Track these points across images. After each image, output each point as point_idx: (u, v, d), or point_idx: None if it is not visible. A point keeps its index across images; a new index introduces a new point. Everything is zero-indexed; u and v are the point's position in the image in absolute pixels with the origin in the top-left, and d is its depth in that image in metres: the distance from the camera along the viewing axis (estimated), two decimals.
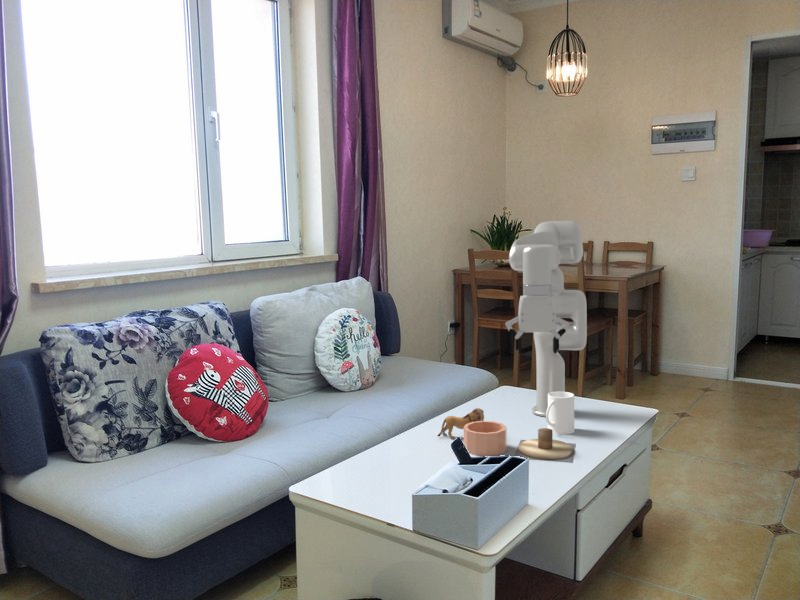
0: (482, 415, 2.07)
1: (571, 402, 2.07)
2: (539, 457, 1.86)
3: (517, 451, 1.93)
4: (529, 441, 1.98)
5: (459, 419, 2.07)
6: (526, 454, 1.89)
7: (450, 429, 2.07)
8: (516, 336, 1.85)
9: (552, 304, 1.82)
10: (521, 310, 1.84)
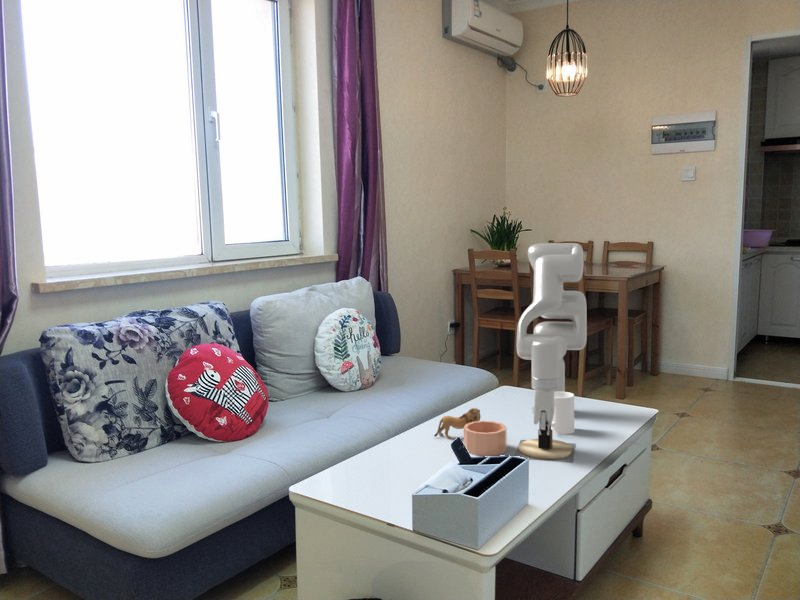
0: (479, 415, 2.07)
1: (571, 402, 2.07)
2: (539, 457, 1.86)
3: (517, 451, 1.93)
4: (529, 441, 1.98)
5: (456, 419, 2.07)
6: (526, 454, 1.89)
7: (447, 429, 2.08)
8: (548, 433, 1.89)
9: None
10: (551, 404, 1.86)
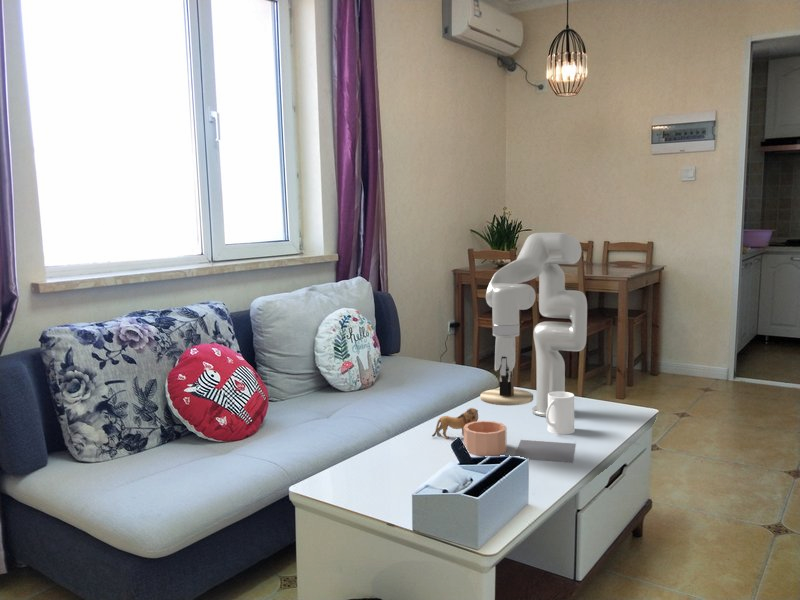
0: (476, 415, 2.08)
1: (571, 402, 2.07)
2: (500, 403, 1.86)
3: (517, 451, 1.93)
4: (491, 390, 1.98)
5: (454, 419, 2.07)
6: (487, 401, 1.89)
7: (445, 429, 2.08)
8: None
9: None
10: (511, 350, 1.87)
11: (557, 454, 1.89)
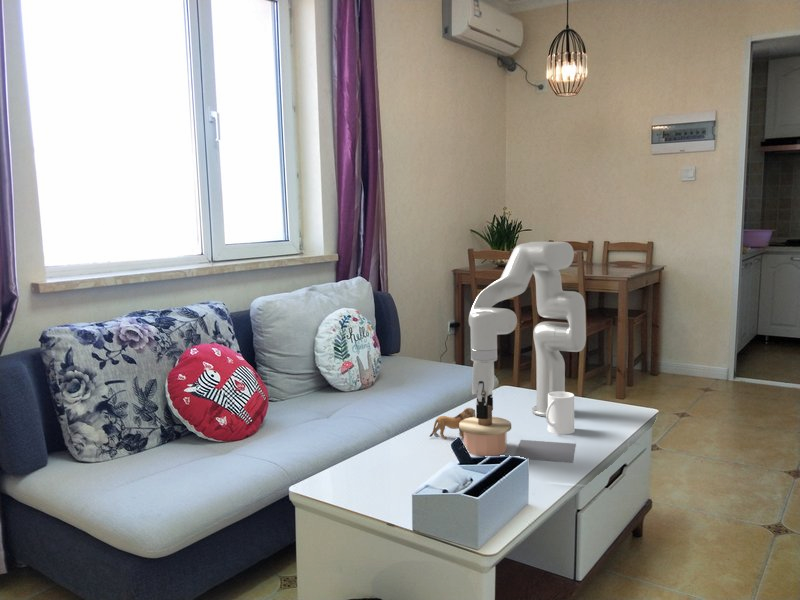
0: (474, 414, 2.08)
1: (571, 402, 2.07)
2: (477, 432, 1.89)
3: (517, 451, 1.93)
4: (471, 418, 2.01)
5: (451, 419, 2.08)
6: (465, 430, 1.91)
7: (442, 429, 2.08)
8: (485, 403, 1.89)
9: None
10: (488, 375, 1.89)
11: (557, 454, 1.89)
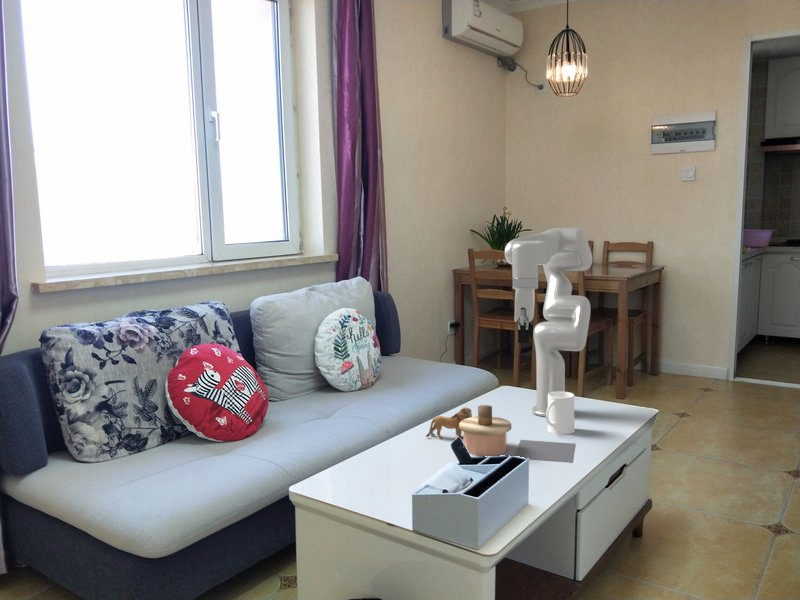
0: (470, 414, 2.08)
1: (571, 402, 2.07)
2: (477, 432, 1.89)
3: (517, 451, 1.93)
4: (471, 418, 2.01)
5: (448, 419, 2.08)
6: (465, 430, 1.91)
7: (439, 429, 2.08)
8: None
9: None
10: (530, 302, 1.98)
11: (557, 454, 1.89)
